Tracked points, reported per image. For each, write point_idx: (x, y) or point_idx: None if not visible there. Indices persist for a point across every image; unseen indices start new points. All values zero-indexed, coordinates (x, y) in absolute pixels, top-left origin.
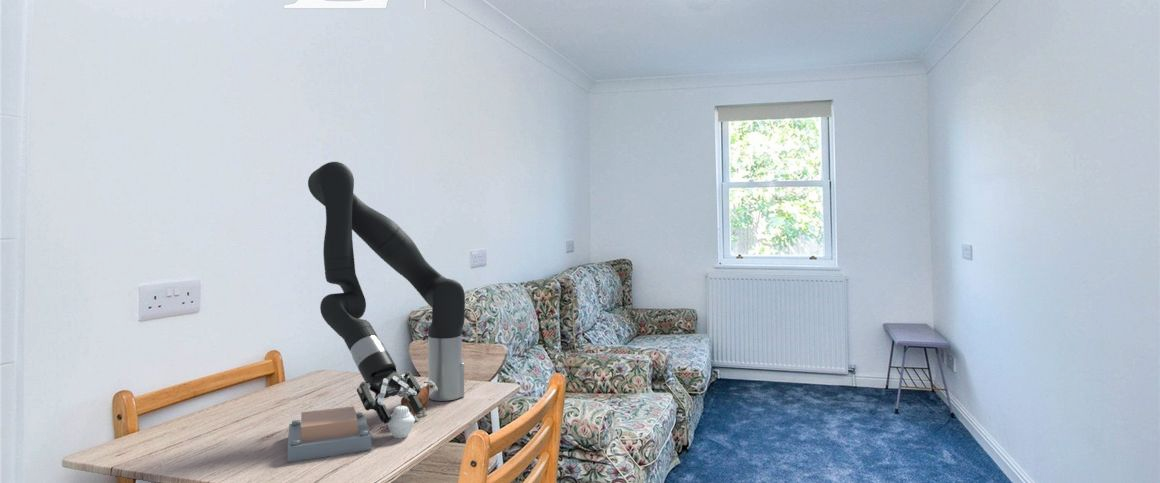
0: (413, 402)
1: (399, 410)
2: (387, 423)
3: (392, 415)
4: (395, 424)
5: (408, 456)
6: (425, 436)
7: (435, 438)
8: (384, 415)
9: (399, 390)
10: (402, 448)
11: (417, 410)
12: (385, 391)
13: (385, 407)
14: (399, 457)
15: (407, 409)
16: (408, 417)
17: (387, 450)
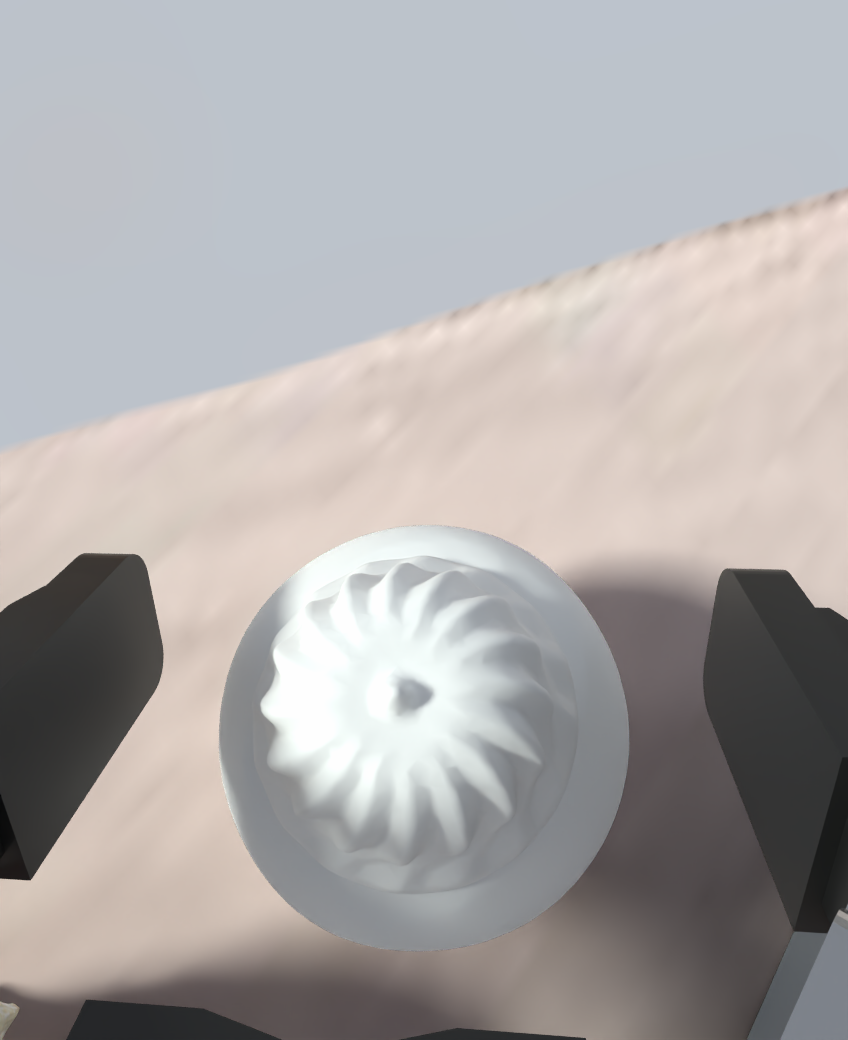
0: (59, 711)
1: (494, 628)
2: (620, 800)
3: (555, 763)
4: (597, 626)
5: (744, 261)
6: (308, 504)
7: (302, 390)
8: (845, 638)
9: (86, 1011)
10: (663, 437)
11: (144, 618)
12: (804, 1031)
13: (825, 696)
14: (812, 299)
15: (354, 578)
16: (399, 557)
17: (794, 511)
